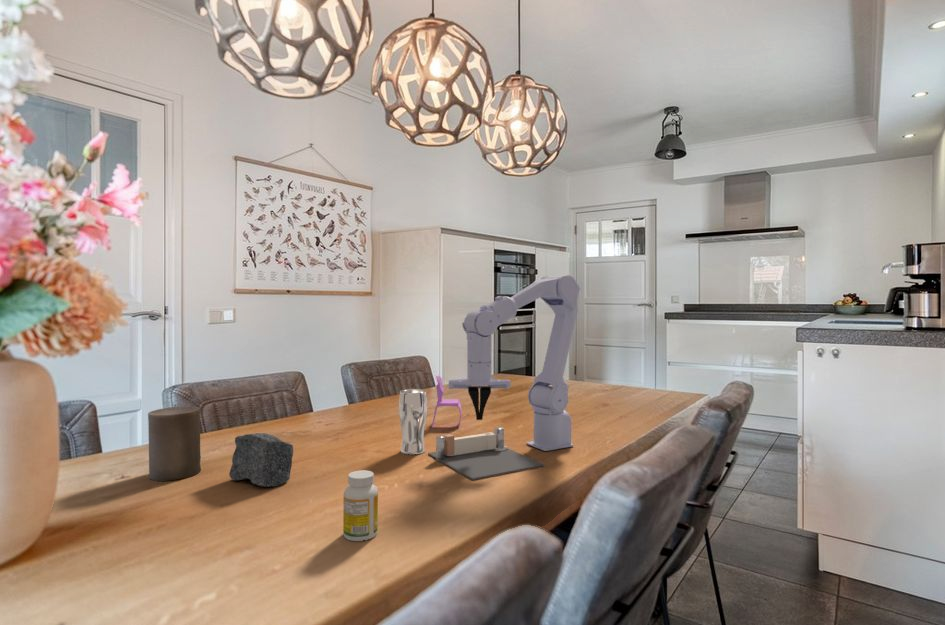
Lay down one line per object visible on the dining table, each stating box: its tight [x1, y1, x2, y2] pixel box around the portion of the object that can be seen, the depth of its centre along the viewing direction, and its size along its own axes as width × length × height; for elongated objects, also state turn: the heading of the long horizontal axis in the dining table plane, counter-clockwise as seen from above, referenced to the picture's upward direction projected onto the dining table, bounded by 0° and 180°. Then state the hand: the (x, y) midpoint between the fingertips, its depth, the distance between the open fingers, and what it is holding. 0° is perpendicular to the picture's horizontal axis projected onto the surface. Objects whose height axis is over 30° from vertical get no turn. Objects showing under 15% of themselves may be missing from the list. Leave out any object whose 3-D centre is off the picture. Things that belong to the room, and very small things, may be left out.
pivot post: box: [491, 426, 509, 451], centre depth 128 cm, size 4×4×6 cm
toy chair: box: [431, 375, 462, 429], centre depth 154 cm, size 8×9×15 cm
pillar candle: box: [147, 403, 202, 482], centre depth 110 cm, size 10×10×15 cm
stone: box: [228, 432, 294, 488], centre depth 105 cm, size 12×8×10 cm, turn 64°
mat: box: [428, 448, 546, 481], centre depth 120 cm, size 19×21×1 cm
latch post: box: [435, 435, 447, 463], centre depth 121 cm, size 4×3×6 cm
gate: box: [443, 431, 496, 456], centre depth 124 cm, size 13×2×4 cm, turn 120°
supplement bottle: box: [342, 469, 379, 542], centre depth 81 cm, size 5×5×10 cm
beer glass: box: [398, 388, 428, 456], centre depth 127 cm, size 7×7×15 cm
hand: (479, 419), depth 122 cm, fingers closed
